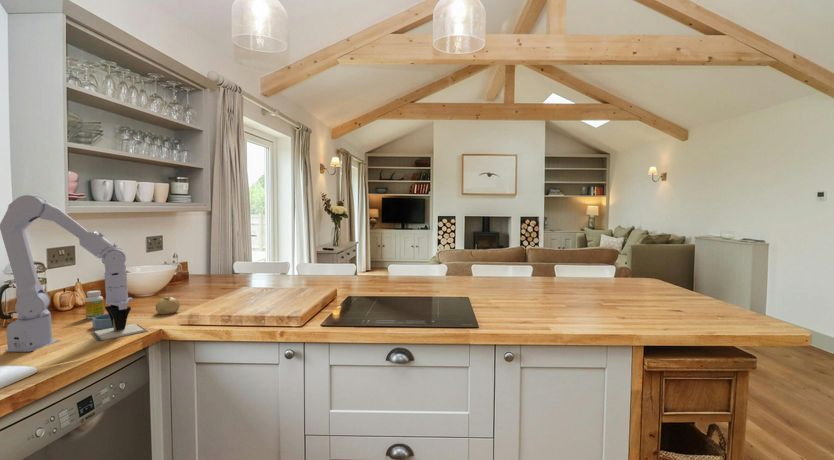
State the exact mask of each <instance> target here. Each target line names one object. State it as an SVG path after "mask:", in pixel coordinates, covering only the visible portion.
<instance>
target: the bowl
mask: <svg viewBox="0 0 834 460" xmlns="http://www.w3.org/2000/svg"><path fill="white" fill-rule="evenodd" d="M91 321H92V322H91V323H92V329H93V330H104V329H109V328H113V325H112V322H111V319H110V316H109V314H108V313H106V314H105V313H104V315H100V316H97V317H94V318H93V319H91Z"/></svg>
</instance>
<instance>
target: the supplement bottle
mask: <svg viewBox="0 0 834 460" xmlns="http://www.w3.org/2000/svg"><path fill="white" fill-rule="evenodd" d="M101 293H102V292H101V290H89V291H87V292H86V296H87V297H86V298H85V299H84V305H85V318H86V319H87V320H88V319H89V320H92V319H93V318H94V317H97V316H100V315H105V306H104V305H105V304H104V297H103V296H102V294H101Z"/></svg>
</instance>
